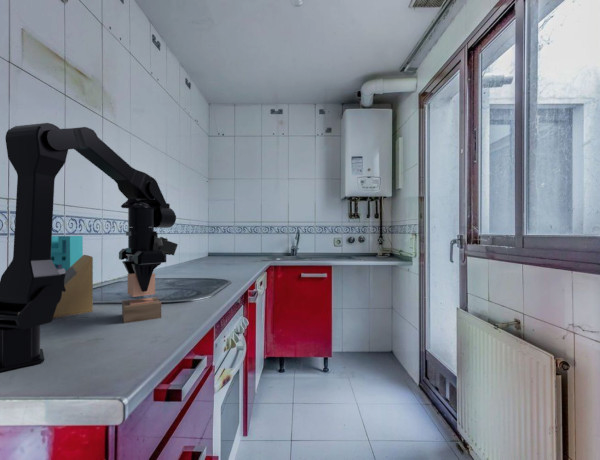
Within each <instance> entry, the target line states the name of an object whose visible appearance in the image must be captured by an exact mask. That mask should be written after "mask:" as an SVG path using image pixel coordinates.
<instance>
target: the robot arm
mask: <svg viewBox="0 0 600 460" xmlns="http://www.w3.org/2000/svg"><path fill="white" fill-rule="evenodd" d="M5 145H6V153H7V158H8V160H9V162H10V164H11V165H12V167H13V169H14V171H15V172H16V175H17V181H16V183H17V184H16V196H15V197H16V198H15V199H16V201H15V216H14V236H13V254H12V255H13V256H12V259H11V262H10V263H9V264H8V266H7V267H6V269H5V270H4V272H3V273H2V274H1V276H0V372H4V371H8V370H12V369H17V368H23V367H27V366H32V365H36V364H41V363H43V362H45V356H44V351H43V348H41V325H44V324H49V323H52V321H53V319H54V318H53V316H54V313H55V310H56V307H57V304H58V303H59V302H60V300H61V297H62V292H65V291H66V289H65V287H64V279H65V275H66V272H65V269H64V268H56V267H55V265H54V264H53V262H52V260H51V244H52V236H53V221H54V217H53V216H54V201H55V199H54V198H55V179H56V176H57V175H58V174H59V173H60V171H61V170H62V168H63V167H64V165H65V164H66V161H67V157H68V153H69V150H74V151H76V152H77V154H78V153H79V154H80V155H81V156H82V157H83V158H85V159H86V160H88V161H89V162H90V163H91V164H92V165H93V166H95V167H97V169H99V170H100V171H102V172H103V173H104V174H105V175H106V176H108V177H109V178H110V179H112V180H113V181H114V182H115V183H116V184H117V188H118V191H119V192H120V193H121V194H122V195H123V196H124V197H125V198H126V199H127V200H126V201H125V202H124V203H122V204H121V205H120V207H121V208H122V209H127V212H128V213H127V215H128V216H127V219H128V220H127V222H128V223H127V225H128V226H127V231H125V237H126V236H127V238H128V239H127V240H128V243H127V245H128V246H127V247H126V248H121V249H120V250H119V252H118V260H120V261H121V260H123V261H122V264H123V265H124V267H125V270H126V271H127V275H128V274H132V273H135V275H136V278H137V280H138V283H139V286H140V288H141V290H142V292H145V291H147V289H148V286H149V283H150V279H151V276H152V273H153V272H154V270H155V269H156V268H158V267H159V266H161V264H162V263H167V255H169V256H175V253H176V251H177V248H178V243H176V242H172V241H170V240H168V238H166V237H165V238H164V237H163V236H159V237H158V235H159V234H158V232H157V231H156V230H155V228H158V229H159V228H160V229H168V228H171V227H173V226H174V225H175V223H176V220H177V215H176V213H175V211H174V210H173V208H171V207H170V205H171V204H170V203H167V202H166V199H165V197H164V195H163V192H162V190H161V188H160V186H159V183H158V182H157V180H156V179H155V178H154V177H152V175H149V174H148V173H146V172H143V171H140V170H138V169H135V168H134V167H133V166H131V165H130V164H129V163H128V162H126V161H125V159H123V158H122V157H121V156H120V155H119V154H118V153H117V152H115V151H114V150H113V149H112V148H111V147H110V146H109V145H107V144H106V143H105V142H104V141H103V140H102V139H101V138H100V137H98V135H97V133H96V132H95V130H94V129H92V128H89V127H87V126H82V127H71V128H69V127H68V128H60V127H59V126H57V125H55V124H53V123H49V122H44V123H43V122H42V123H34V124H24V125H23V124H21V125H15V126H13V127H11V128H8V130H7V131H6V133H5ZM153 274H154V273H153ZM19 312H20V313H19ZM18 313H19V314H18Z"/></svg>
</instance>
